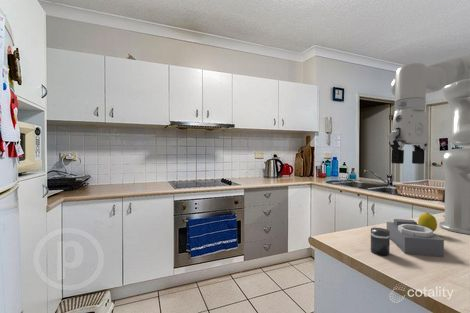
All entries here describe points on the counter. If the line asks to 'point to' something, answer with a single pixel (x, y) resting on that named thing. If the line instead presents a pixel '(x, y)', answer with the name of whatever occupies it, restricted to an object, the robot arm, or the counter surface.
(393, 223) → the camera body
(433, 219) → the lemon
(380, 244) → the lens
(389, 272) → the counter surface
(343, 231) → the counter surface
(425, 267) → the counter surface
